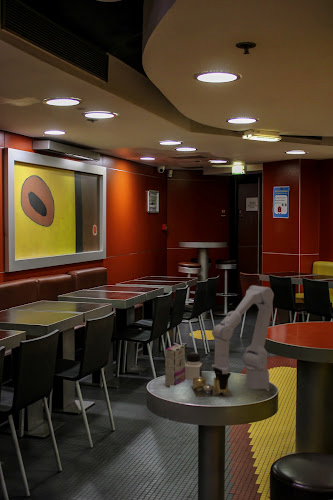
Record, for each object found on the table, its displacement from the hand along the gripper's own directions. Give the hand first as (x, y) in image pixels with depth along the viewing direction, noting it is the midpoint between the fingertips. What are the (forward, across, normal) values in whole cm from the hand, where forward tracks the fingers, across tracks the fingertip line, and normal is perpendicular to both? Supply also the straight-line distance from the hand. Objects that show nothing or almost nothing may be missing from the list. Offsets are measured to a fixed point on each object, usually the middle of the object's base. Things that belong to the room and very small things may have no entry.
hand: (221, 387), depth 241 cm
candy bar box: (+4, -18, -17) cm, 25 cm away
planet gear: (+1, 0, 0) cm, 1 cm away
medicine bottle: (+4, -26, -8) cm, 27 cm away
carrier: (+3, -4, -4) cm, 6 cm away
